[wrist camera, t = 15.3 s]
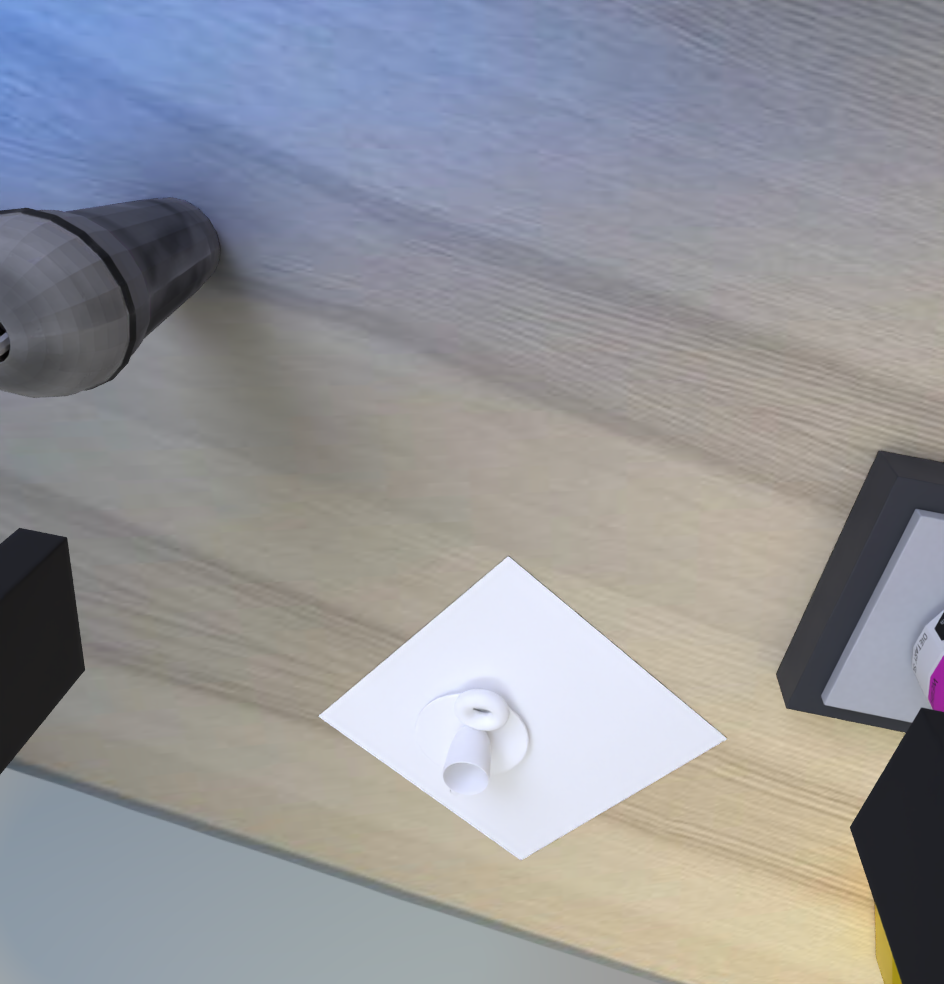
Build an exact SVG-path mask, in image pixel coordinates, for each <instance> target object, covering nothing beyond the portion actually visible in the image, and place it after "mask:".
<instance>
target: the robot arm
mask: <svg viewBox="0 0 944 984" xmlns="http://www.w3.org/2000/svg"><path fill="white" fill-rule="evenodd" d="M84 671H85V666H84V659H83V651H82V644H81V637H80V629H79V622H78V615H77V607H76V600H75V593H74V585H73V578H72V571H71V563H70V556H69V548H68V541H67V537H62V536H57V535H52V534H47V533H42V532H37V531H32V530H27V529H22V528H19V529H18V530H16V531H15V532H14V533H13V534H12V535H10V536H9V537H8V538H7V539H6V540H5V541H3V542H2V543H1V544H0V774H1V773H2V772H3V770H4V769H5V768H6V767H7V765H8V764H9V763H10V762H11V761H12V759H13V758H14V757H15V756H16V754H17V753H18V752H19V751H20V749H21V748H22V747H23V746H24V745H25V743H26V742H27V741H28V740H29V738H30V737H31V736H32V735H33V733H34V732H35V731H36V730H37V728H38V727H39V726H40V725H41V724H42V722H43V721H44V720H45V719H46V717H47V716H48V715H49V714H50V712H51V711H52V710H53V709H54V708H55V706H56V705H57V704H58V703H59V701H60V700H61V699H62V698H63V696H64V695H65V694H66V693H67V692H68V690H69V689H70V688H71V687H72V685H73V684H74V683H75V682H76V680H77V679H78V678H79V677H80V675H81V674H82V673H83V672H84ZM850 829H851V832H852V835H853V838H854V841H855V844H856V847H857V850H858V853H859V856H860V859H861V862H862V865H863V868H864V871H865V874H866V877H867V880H868V883H869V886H870V889H871V892H872V895H873V898H874V901H875V904H876V907H877V910H878V913H879V916H880V919H881V922H882V925H883V928H884V931H885V934H886V937H887V940H888V943H889V946H890V949H891V952H892V955H893V958H894V961H895V964H896V967H897V970H898V973H899V976H900V979H901V982H902V984H944V712H942V711H937V710H932V709H927V708H922V707H921V709H920V710H919V712H918V714H917V715H916V717H915V719H914V720H913V722H912V724H911V725H910V727H909V729H908V731H907V732H906V734H905V736H904V737H903V739H902V741H901V742H900V744H899V746H898V747H897V749H896V751H895V752H894V754H893V756H892V757H891V759H890V761H889V762H888V764H887V766H886V767H885V769H884V771H883V773H882V774H881V776H880V778H879V779H878V781H877V783H876V784H875V786H874V788H873V789H872V791H871V793H870V794H869V796H868V798H867V799H866V801H865V803H864V804H863V806H862V808H861V809H860V811H859V813H858V815H857V816H856V818H855V820H854V821H853V823H852V825H851V826H850Z"/></svg>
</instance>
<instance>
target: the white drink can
mask: <svg viewBox="0 0 944 984" xmlns="http://www.w3.org/2000/svg"><path fill="white" fill-rule="evenodd" d="M912 669H913V672H914V674H915V676H916V678H917V681H918V683H919V685H920V687H921V689H922V691H923V693H924V695H925V697H926V699H927V701H928V703H929V705H930V706H931V708H932V710H937V711H942V712H944V610H943V611H942V612H941V613H940V614H938V615H937V616H936V617H935V618H934V619H933V620H931V621H930V622H929V623H928V624H927V625H926V626H925V627H924V629H923V631H922V633H921V634H920V636H919V638H918V640H917V641H916V643H915V645H914V646H913V657H912Z"/></svg>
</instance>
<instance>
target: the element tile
mask: <svg viewBox="0 0 944 984" xmlns="http://www.w3.org/2000/svg"><path fill="white" fill-rule="evenodd" d="M875 929H876V959H877V962H878V965H879V969H880V972H881V975H882V978H883V981H884V984H902V982H901V979H900V976H899V973H898V970H897V967H896V964H895V961H894V958H893V955H892V952H891V949H890V946H889V943H888V940H887V937H886V934H885V931H884V928H883V925H882V922H881V919H880V916H879V913H878V910H877V907H876V904H875Z"/></svg>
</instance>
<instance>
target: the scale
mask: <svg viewBox="0 0 944 984" xmlns="http://www.w3.org/2000/svg"><path fill="white" fill-rule="evenodd" d="M943 610H944V463H942V462H937V461H932V460H927V459H921V458H916V457H911V456H906V455H900V454H895V453H890V452H885V451H879V452H878V454H877V456H876V458H875V460H874V462H873V465H872V467H871V469H870V471H869V473H868V476H867V478H866V480H865V482H864V484H863V486H862V489H861V491H860V493H859V495H858V497H857V500H856V502H855V504H854V506H853V508H852V510H851V513H850V515H849V517H848V519H847V521H846V523H845V526H844V528H843V530H842V532H841V534H840V537H839V539H838V541H837V543H836V545H835V547H834V550H833V552H832V554H831V556H830V558H829V560H828V563H827V565H826V567H825V569H824V571H823V574H822V576H821V578H820V580H819V582H818V584H817V587H816V589H815V591H814V593H813V595H812V597H811V600H810V602H809V604H808V606H807V608H806V611H805V613H804V615H803V617H802V619H801V621H800V624H799V626H798V628H797V630H796V632H795V634H794V637H793V639H792V641H791V643H790V645H789V648H788V650H787V652H786V654H785V656H784V658H783V661H782V663H781V665H780V667H779V669H778V671H777V674H776V676H777V679H778V682H779V686H780V689H781V692H782V696H783V699H784V702H785V706H786V708H787V709H792V710H797V711H802V712H807V713H812V714H817V715H822V716H827V717H832V718H837V719H841V720H846V721H851V722H856V723H861V724H866V725H871V726H876V727H881V728H886V729H891V730H896V731H900V732H905V733H906V732H907V731H908V729H909V727H910V725H911V724H912V722H913V720H914V719H915V717H916V715H917V714H918V712H919V710H920V709H921V707H922V708H927V709H932V708H931V706H930V705H929V703H928V701H927V699H926V697H925V695H924V693H923V691H922V689H921V687H920V685H919V683H918V681H917V678H916V676H915V674H914V672H913V669H912V657H913V646H914V645H915V643H916V641H917V640H918V638H919V636H920V634H921V633H922V631H923V629H924V627H925V626H926V625H927V624H928V623H929V622H930V621H931V620H933V619H934V618H935V617H936V616H937V615H938V614H940V613H941V612H942V611H943Z"/></svg>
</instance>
